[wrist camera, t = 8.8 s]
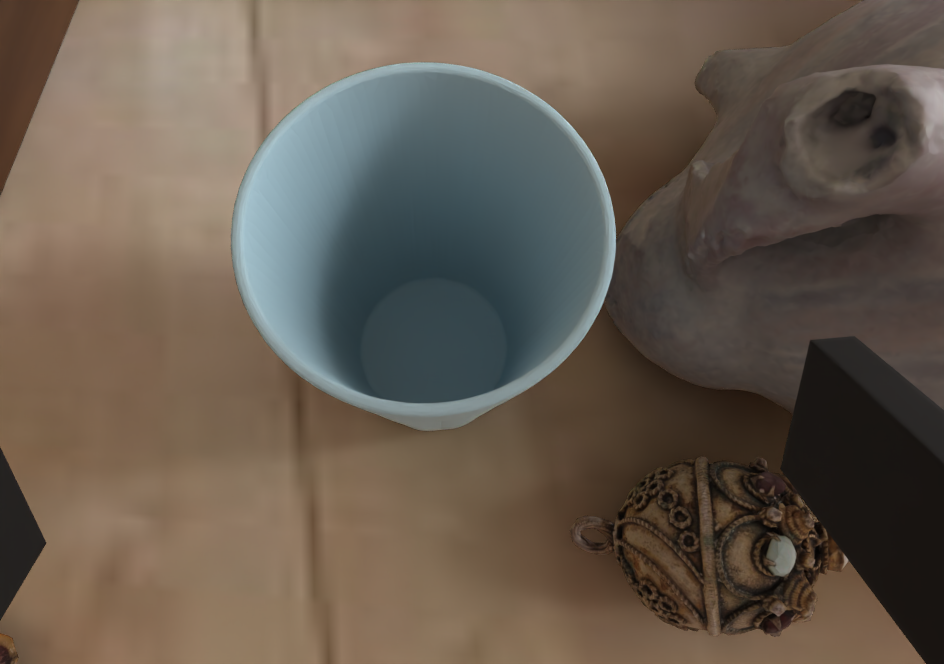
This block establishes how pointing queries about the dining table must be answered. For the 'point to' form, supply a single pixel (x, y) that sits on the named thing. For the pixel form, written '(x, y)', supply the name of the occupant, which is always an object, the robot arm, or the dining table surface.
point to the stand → (26, 65)
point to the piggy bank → (801, 212)
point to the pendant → (718, 547)
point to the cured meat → (7, 650)
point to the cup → (423, 241)
